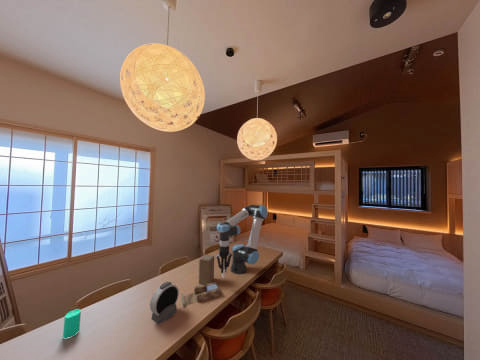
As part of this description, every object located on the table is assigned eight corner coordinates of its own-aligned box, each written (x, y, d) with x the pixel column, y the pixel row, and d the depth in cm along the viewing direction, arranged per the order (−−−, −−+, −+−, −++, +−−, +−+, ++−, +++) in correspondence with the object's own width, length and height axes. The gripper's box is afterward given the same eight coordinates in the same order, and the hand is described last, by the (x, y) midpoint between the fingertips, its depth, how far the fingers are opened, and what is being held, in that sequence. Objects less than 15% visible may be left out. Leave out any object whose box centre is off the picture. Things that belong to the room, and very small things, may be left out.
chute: (215, 288, 125) (215, 281, 125) (219, 296, 115) (220, 289, 115) (181, 297, 114) (181, 290, 114) (183, 307, 104) (183, 299, 104)
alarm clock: (156, 327, 88) (158, 293, 90) (146, 319, 94) (148, 287, 95) (181, 309, 102) (182, 279, 103) (171, 303, 107) (172, 275, 109)
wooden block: (209, 286, 127) (210, 260, 129) (198, 284, 129) (198, 259, 131) (214, 279, 137) (214, 255, 139) (203, 278, 139) (203, 254, 141)
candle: (70, 329, 87) (72, 306, 87) (82, 329, 87) (84, 305, 88) (59, 340, 81) (61, 314, 81) (72, 339, 81) (74, 314, 82)
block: (215, 289, 122) (215, 283, 123) (218, 293, 117) (218, 288, 117) (206, 291, 119) (206, 286, 120) (208, 296, 114) (208, 290, 114)
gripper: (230, 242, 131) (229, 273, 129) (214, 244, 125) (213, 276, 123) (234, 245, 124) (233, 277, 122) (217, 247, 118) (216, 281, 116)
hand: (223, 277), depth 122 cm, fingers closed
